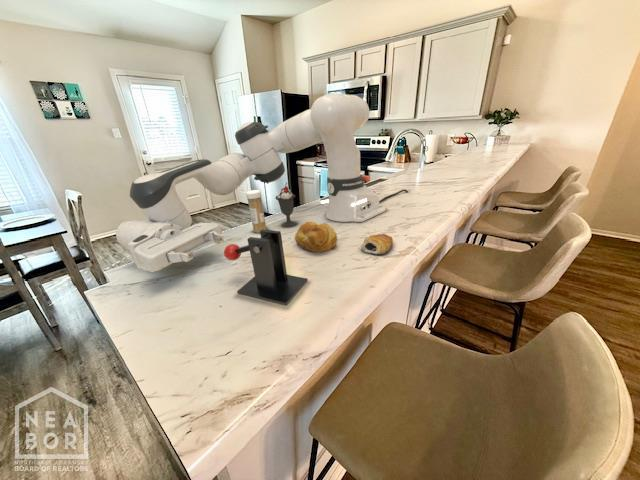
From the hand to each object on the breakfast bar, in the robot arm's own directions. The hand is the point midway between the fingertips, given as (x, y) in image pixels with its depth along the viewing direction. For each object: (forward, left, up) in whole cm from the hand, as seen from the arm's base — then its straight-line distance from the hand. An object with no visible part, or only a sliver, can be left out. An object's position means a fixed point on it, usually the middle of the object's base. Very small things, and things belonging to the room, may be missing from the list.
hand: (206, 247), depth 60 cm
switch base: (-9, +14, -8) cm, 19 cm away
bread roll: (-27, +2, -8) cm, 28 cm away
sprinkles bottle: (-19, -21, -8) cm, 29 cm away
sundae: (-29, -19, -8) cm, 36 cm away
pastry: (-39, +14, -8) cm, 43 cm away
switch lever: (-7, +11, 0) cm, 13 cm away
